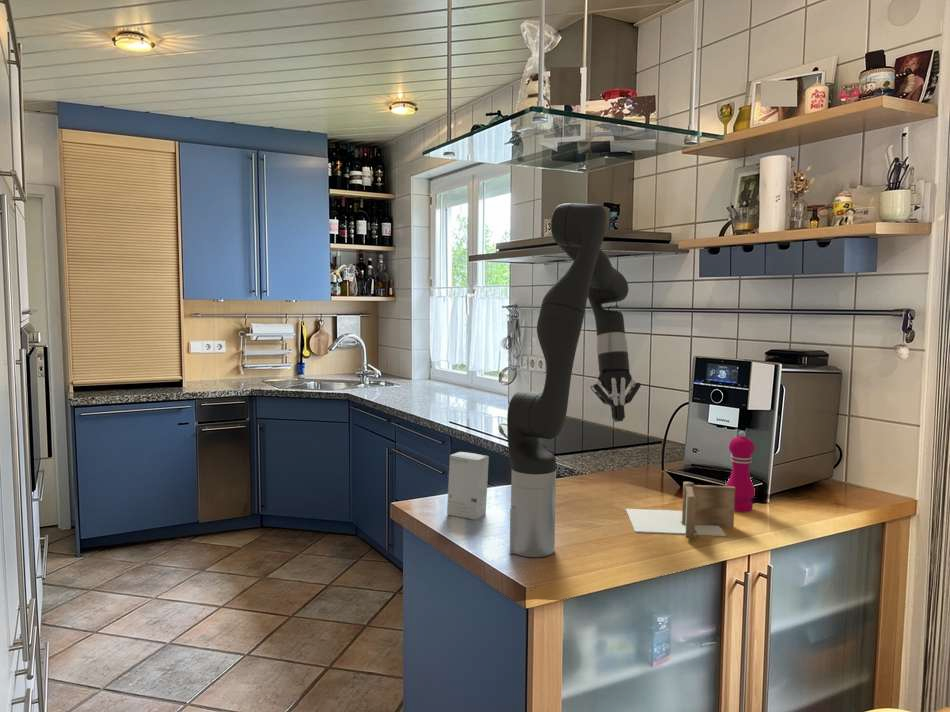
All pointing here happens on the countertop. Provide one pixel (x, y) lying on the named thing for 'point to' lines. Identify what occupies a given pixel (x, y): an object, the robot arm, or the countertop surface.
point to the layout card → (666, 523)
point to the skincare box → (467, 485)
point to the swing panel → (690, 512)
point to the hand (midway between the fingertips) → (618, 421)
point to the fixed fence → (711, 504)
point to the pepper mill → (741, 472)
